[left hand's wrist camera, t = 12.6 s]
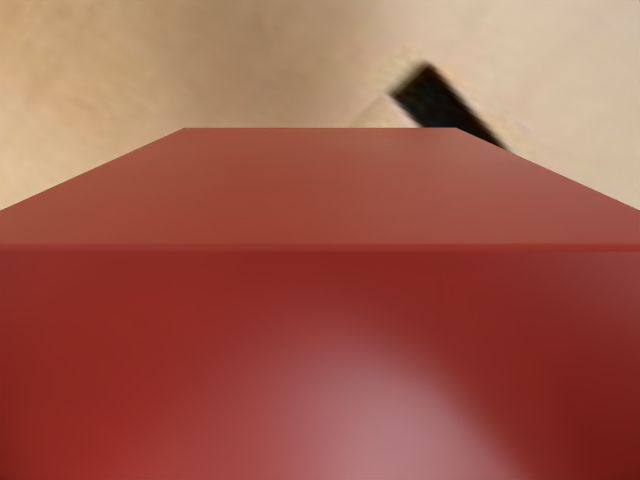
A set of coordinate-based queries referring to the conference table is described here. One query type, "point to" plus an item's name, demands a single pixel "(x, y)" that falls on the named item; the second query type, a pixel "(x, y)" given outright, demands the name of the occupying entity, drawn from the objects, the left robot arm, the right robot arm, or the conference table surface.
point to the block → (320, 314)
